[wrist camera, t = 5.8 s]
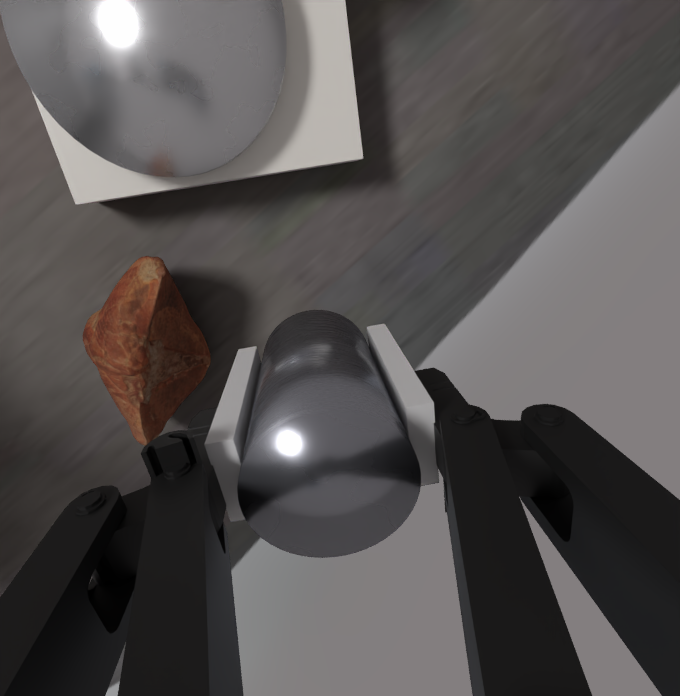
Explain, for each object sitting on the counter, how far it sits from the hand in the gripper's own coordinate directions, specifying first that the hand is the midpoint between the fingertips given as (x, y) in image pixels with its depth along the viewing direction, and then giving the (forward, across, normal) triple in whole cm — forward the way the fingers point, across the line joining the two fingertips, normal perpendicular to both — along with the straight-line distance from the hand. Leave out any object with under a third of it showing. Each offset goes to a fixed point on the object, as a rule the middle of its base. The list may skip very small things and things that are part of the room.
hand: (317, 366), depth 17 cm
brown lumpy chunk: (+16, -12, -2) cm, 20 cm away
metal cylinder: (+1, 0, 0) cm, 1 cm away
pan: (+12, -6, +15) cm, 21 cm away
